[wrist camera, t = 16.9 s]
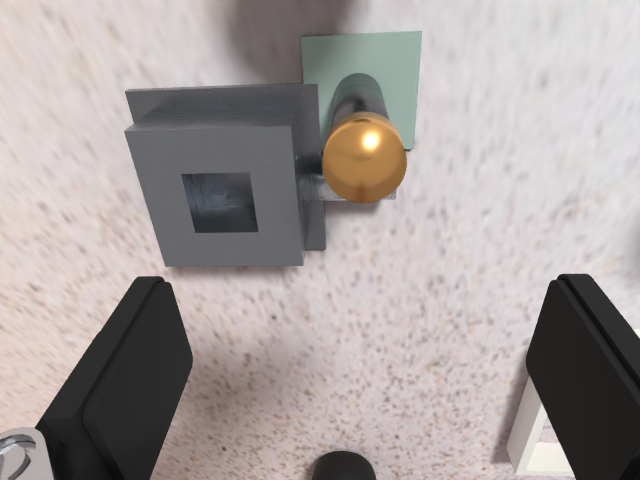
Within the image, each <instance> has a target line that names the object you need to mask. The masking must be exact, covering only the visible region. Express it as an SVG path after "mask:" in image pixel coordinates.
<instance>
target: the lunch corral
mask: <svg viewBox="0 0 640 480" xmlns="http://www.w3.org/2000/svg"><path fill="white" fill-rule="evenodd" d="M633 330H634V332H635V333H636V334H637V335H638V337H639V338H640V329H633ZM546 418H547V413H546V411H545V409H544V407H543V404H542V402H541V400H540V398H539V395H538V393H537V391H536V389H535V387H534V384H533V382H532V380H531V378H530V375H529V377H528V380H527V383H526V386H525V389H524V392H523V396H522V399H521V402H520V405H519V408H518V411H517V414H516V417H515V420H514V423H513V426H512V429H511V432H510V435H509V439H508V442H507V445H506V448H507V451H508V454H509V457H510V460H511V463H512V466H513V469H514V473H515V475H538V476H571V477H575V476H574V474H573V471H572V469H571V467H570V465H569V462H568V460H567V458H566V456H565V453H564V451H563V449H562V447H561V445H560V443H545V442H537V441H538V438H539V436H540V433H541V430H542V428H543V425H544V423H545V420H546Z"/></svg>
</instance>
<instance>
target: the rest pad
mask: <svg viewBox="0 0 640 480" xmlns="http://www.w3.org/2000/svg"><path fill="white" fill-rule="evenodd" d="M421 39H422V31H410V32H388V33H367V34H345V35H324V36H302V37H300V40H301V54H302V69H303V84H318V101H319V120H320V140H321V151H324V145H325V140H326V137H327V135H328V133H329V131H330V129H331V128H332V118H333V105H334V95H335V90H336V88H337V86H338V84H339V83H340V81H341V80H342V79H344V78H345V77H346V76H348V75H351V74H354V73H364V74H368V75H370V76H371V77H373V78H374V79H375V80H376V81H377V82H378V84H379V85H380V88H381V91H382V94H383V98H384V102H385V105H386V109H387V113H388V116H389V120H390V121H391V122H392V123H393V125H394V126H395V127H396V129H397V130H398V132H399V134H400V137H401V140H402V144H403V147H404V149H414V135H415V122H416V108H417V94H418V80H419V67H420V53H421Z"/></svg>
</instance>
